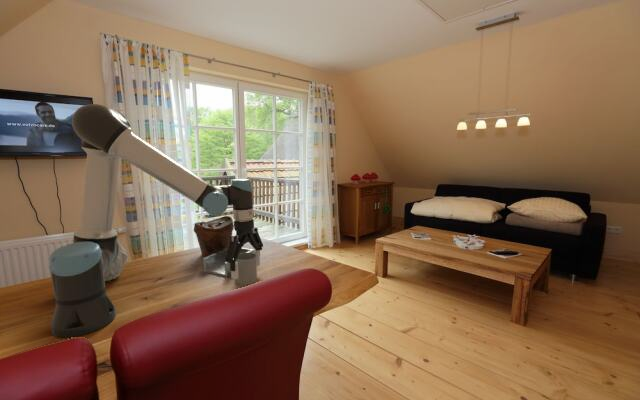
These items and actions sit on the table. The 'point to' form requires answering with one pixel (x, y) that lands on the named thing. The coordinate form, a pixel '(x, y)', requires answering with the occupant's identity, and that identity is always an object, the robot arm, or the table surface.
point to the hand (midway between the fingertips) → (246, 271)
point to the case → (214, 235)
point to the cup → (246, 268)
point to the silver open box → (220, 262)
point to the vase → (116, 264)
